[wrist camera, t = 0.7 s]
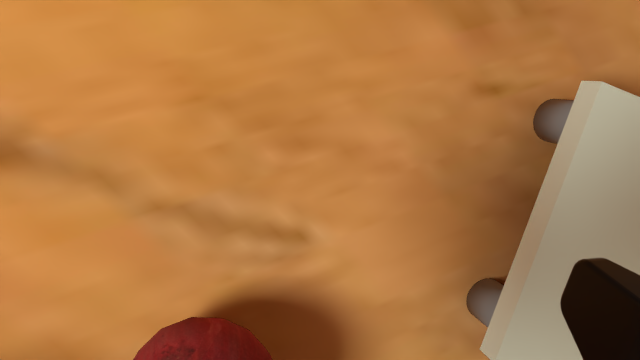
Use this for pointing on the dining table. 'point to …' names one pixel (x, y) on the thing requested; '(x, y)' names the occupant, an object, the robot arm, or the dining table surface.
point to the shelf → (568, 223)
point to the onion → (203, 342)
